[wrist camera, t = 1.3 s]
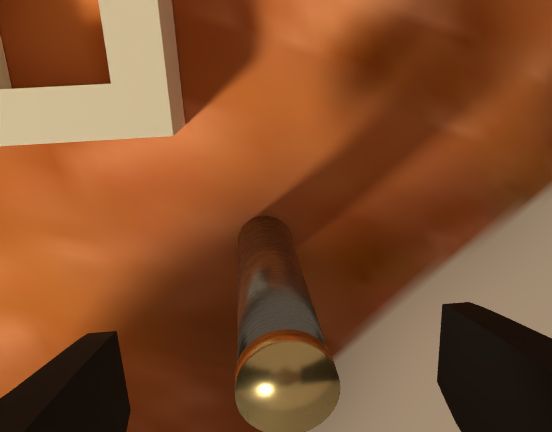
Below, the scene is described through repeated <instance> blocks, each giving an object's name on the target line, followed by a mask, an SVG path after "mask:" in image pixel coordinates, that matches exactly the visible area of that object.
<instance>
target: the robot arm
mask: <svg viewBox="0 0 552 432" xmlns="http://www.w3.org/2000/svg"><path fill="white" fill-rule="evenodd" d="M437 382H438V385H439V387H440V389H441V392H442V394H443V396H444V398H445V400H446V403H447V405H448V407H449V409H450V411H451V413H452V416H453V418H454V420H455V421H456V424H457V425H458V427H459V429H460V430H461V432H552V338H549V337H547V336H545V335H543V334H540V333H538V332H536V331H534V330H532V329H530V328H528V327H526V326H523V325H521V324H519V323H517V322H515V321H513V320H511V319H508V318H506V317H504V316H502V315H500V314H497V313H495V312H493V311H491V310H488V309H486V308H484V307H481V306H479V305H475V304H473V303H470V302H464V303H453V304H443V305H442V319H441V333H440V347H439V361H438V375H437ZM129 415H130V404H129V399H128V393H127V387H126V382H125V376H124V370H123V365H122V359H121V354H120V348H119V342H118V337H117V331H113V332H101V333H89V334H86V335H85V336H83V337H82V338H80V339H79V340H77V341H76V342H75V343H73V344H72V345H70V346H69V347H68V348H66V349H65V350H64V351H63V352H61V353H60V354H59V355H57V356H56V357H55V358H53V359H52V360H51V361H50V362H48V363H47V364H46V365H44V366H43V367H42V368H40V369H39V370H38V371H37V372H35V373H34V374H33V375H31V376H30V377H29V378H27V379H26V380H25V381H23V382H22V383H21V384H19V385H18V386H17V387H16V388H14V389H13V390H12V391H10V392H9V393H7V394H6V395H5V396H3V397H2V398H0V432H126V430H127V425H128V420H129Z"/></svg>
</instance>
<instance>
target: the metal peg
mask: <svg viewBox="0 0 552 432" xmlns="http://www.w3.org/2000/svg"><path fill="white" fill-rule="evenodd" d="M339 395H340V381H339V377H338V373H337V370H336V367H335V364H334V361H333V358H332V356H331V354H330V352H329V350H328V348H327V347H326V344H325V341H324V338H323V335H322V332H321V329H320V326H319V323H318V320H317V317H316V314H315V311H314V307H313V304H312V301H311V298H310V295H309V292H308V289H307V286H306V283H305V280H304V277H303V273H302V270H301V267H300V264H299V261H298V258H297V255H296V252H295V249H294V246H293V243H292V240H291V236H290V233H289V231H288V229H287V227H286V226H285V225H284V224H283V223H282V222H281V221H280V220H278V219H276V218H273V217H268V216H261V217H257V218H254V219H252V220H250V221H249V222H247V223H246V224H245V225H244V226H243V228H242V229H241V231H240V233H239V237H238V361H237V364H236V369H235V401H236V405H237V408H238V410H239V412H240V414H241V415H242V416H243V418H244V419H245V420H246V421H247V422H248V423H249V424H250V425H252V426H253V427H255V428H257V429H258V430H261V431H263V432H305V431H308V430H310V429H312V428H314V427H316V426H317V425H319V424H320V423H322V422H323V421H324V420H325V419H326V418H327V417H328V416H329V415H330V414H331V412H332V411H333V410H334V408H335V406H336V404H337V402H338V399H339Z"/></svg>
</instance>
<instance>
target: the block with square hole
mask: <svg viewBox="0 0 552 432" xmlns="http://www.w3.org/2000/svg"><path fill="white" fill-rule="evenodd" d="M98 1H99V8H100V14H101V21H102V28H103V34H104V41H105V47H106V54H107V60H108V67H109V74H110V80H111V84H94V85H75V86H55V87H36V88H16V89H12V86H11V81H10V77H9V72H8V67H7V63H6V58H5V53H4V49H3V44H2V39H1V35H0V146H11V145H28V144H45V143H62V142H79V141H96V140H113V139H130V138H147V137H164V136H174V135H175V134H176V133H177V132H178V131H179V130H180V129H182V128H183V127H184V126H185V118H184V109H183V100H182V90H181V81H180V72H179V62H178V53H177V44H176V35H175V25H174V16H173V7H172V0H98Z"/></svg>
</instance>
